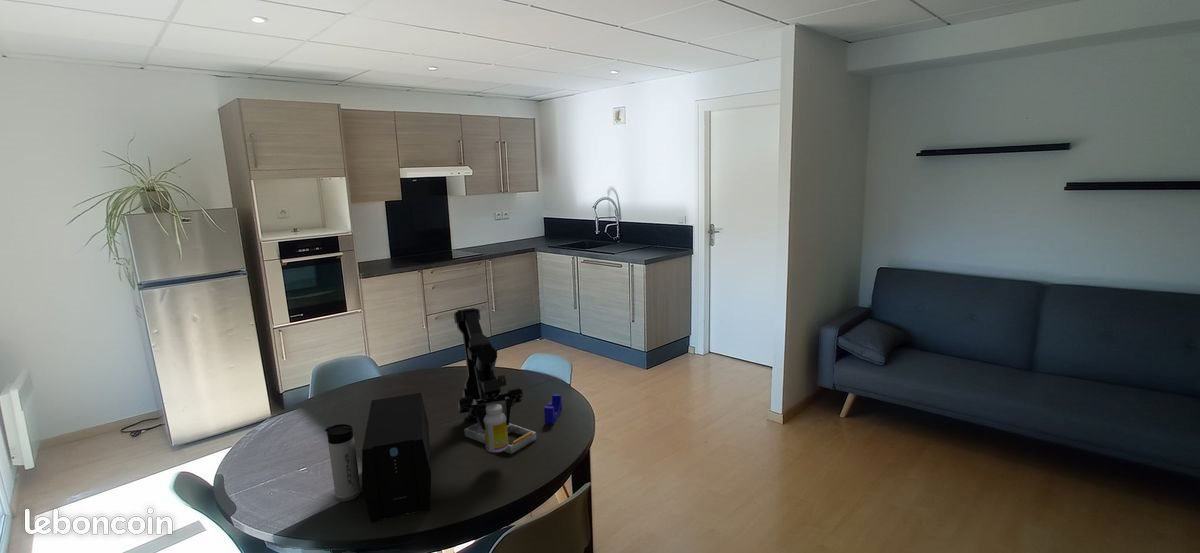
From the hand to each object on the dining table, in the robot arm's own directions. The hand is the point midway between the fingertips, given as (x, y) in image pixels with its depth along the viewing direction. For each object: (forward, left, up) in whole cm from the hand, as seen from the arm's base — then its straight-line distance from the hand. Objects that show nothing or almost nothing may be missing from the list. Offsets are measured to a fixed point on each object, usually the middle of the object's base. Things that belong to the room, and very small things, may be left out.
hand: (496, 427), depth 158 cm
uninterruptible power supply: (-17, -21, -13) cm, 30 cm away
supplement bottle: (-1, +1, -7) cm, 7 cm away
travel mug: (-24, -33, -13) cm, 43 cm away
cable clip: (-9, +34, -13) cm, 37 cm away
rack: (-13, +13, -12) cm, 22 cm away
